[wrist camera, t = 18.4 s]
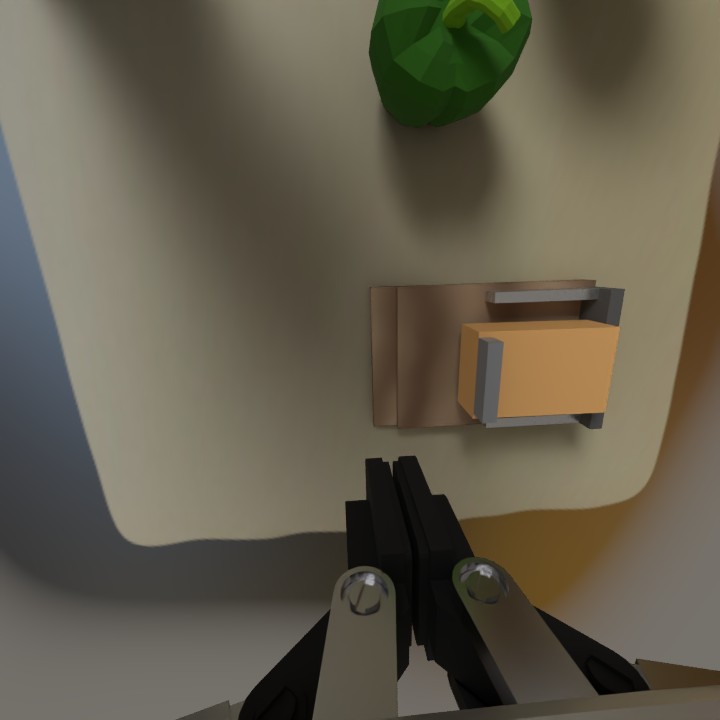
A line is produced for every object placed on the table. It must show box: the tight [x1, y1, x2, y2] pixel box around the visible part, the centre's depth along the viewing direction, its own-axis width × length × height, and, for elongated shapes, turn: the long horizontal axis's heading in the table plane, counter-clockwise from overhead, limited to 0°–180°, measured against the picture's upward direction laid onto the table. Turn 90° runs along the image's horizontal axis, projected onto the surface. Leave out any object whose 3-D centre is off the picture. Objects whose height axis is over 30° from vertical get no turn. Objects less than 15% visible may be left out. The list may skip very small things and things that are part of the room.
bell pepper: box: [369, 0, 532, 128], centre depth 20 cm, size 8×8×10 cm
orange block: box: [458, 320, 620, 423], centre depth 26 cm, size 10×6×6 cm, turn 91°
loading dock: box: [370, 280, 625, 429], centre depth 28 cm, size 18×12×4 cm, turn 92°
